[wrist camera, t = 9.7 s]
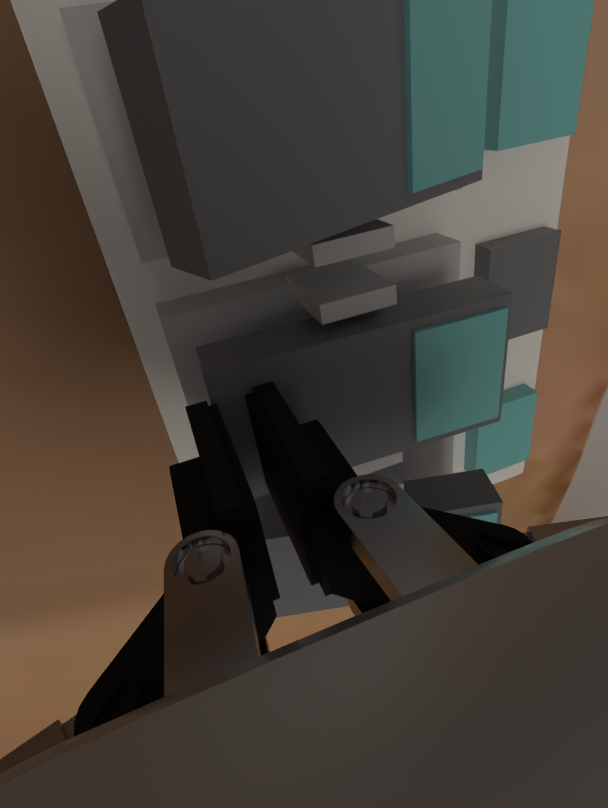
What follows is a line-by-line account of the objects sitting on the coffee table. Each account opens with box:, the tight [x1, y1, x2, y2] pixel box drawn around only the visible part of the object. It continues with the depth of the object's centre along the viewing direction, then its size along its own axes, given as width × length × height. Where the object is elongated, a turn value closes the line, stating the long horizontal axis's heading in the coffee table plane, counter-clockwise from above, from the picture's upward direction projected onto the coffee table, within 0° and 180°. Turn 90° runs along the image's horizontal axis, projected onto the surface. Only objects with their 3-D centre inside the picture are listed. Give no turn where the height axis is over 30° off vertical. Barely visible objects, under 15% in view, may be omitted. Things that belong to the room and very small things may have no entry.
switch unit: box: [10, 0, 594, 505], centre depth 16 cm, size 20×15×5 cm
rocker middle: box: [196, 276, 513, 498], centre depth 13 cm, size 4×8×2 cm, turn 98°
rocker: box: [256, 469, 503, 617], centre depth 17 cm, size 4×8×2 cm, turn 98°
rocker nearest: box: [97, 0, 492, 281], centre depth 10 cm, size 4×8×2 cm, turn 98°
